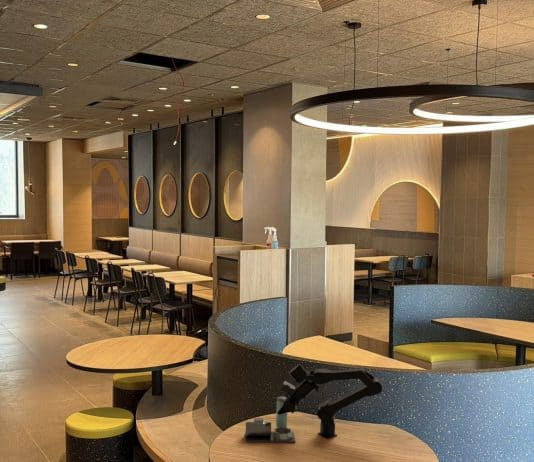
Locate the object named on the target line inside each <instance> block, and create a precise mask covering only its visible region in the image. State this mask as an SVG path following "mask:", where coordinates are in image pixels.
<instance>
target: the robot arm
mask: <svg viewBox="0 0 534 462" xmlns="http://www.w3.org/2000/svg"><path fill="white" fill-rule="evenodd" d="M288 374H289V376H290V377H291V378H292V379H293V380H294V381H295V382H296V384H297V383H298V384H299V383H300V385H296V386H295V385H293V384H291V383H290V382H288V381H286V380H284V381H283V383H282V385H281V387H280V390H281V391H282V392H285V393H286V395H285V397H287V398H286V399H285V400H284V402H283V403H284V405H283V406H282V407H281V409H280V410H279V411H278V412H277V413H278V414H283V413H287V414H288V413H291V414H294V413H295V412H296V411H297V406H298V405H299V404H300V403H301V402H302V401H303V400H305V399H306V398H307V396H309V395H310V394H311V393H312V392H313V391H314V390H315V391H316V392H317V393H319V391H320V385H324V384H327V383H330V382H333V381H343V380H344V381H345V380H358V379H359V380H360V381H361V382H362V384H363V385H362V386H361V387H359V388H358V389H356V390H354V391H351V392H350V393H348V394H346V395H343V396H341V397H340V398H338V399H336V400H334V401H333V400H332V401H331V400H330V399H327V400H326V399H325V401H322V402H320V405H318V409H317V412H316V415H317V418H318V419H320V425H319V426H320V428H319V432H317V435H318V436H321V437H322V438H324V439H328V440H329V439H332V438H335V437H338V434H336V422H335V419H336V413H337V412H339V411H340V410H342V409H344V408H346V407H348V406H351V405H352V404H354V403H356V402H358V401H360V400H362V399H364V398H367V397H368V398H369V397H373V396H376V395H379V394H381V393H382V391H383V383H382V380H381V379H380V378H379V377H375V376H374V375H372V374H370V373H369V372H368V371H366V370H365V369H364V368H362V367H359V368H350V369H339V370H337V369H336V370H331V369H327V368H317V369H315V370H306V369H305V367H303V364H301V363H299V364H298V365H296V366H294V367H293V368H292V369H291V370H290V371H289V372H288Z"/></svg>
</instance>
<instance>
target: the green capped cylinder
mask: <svg viewBox="0 0 534 462" xmlns="http://www.w3.org/2000/svg"><path fill="white" fill-rule="evenodd" d="M286 398H287V397H286V396H277V397H276V412H275V413H276V416H275V417H276V419H275V428H277V427H287V428H288V412H287V413H283V414H278V413H277V412H278V411H279V410H280V409H281V407H282V406H283V405H284V403H283V402H284V400H285V399H286Z"/></svg>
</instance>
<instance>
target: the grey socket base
mask: <svg viewBox="0 0 534 462" xmlns="http://www.w3.org/2000/svg"><path fill="white" fill-rule="evenodd" d="M244 435H245V443H246V444H247V443H251V444H252V443H257V444H259V443H260V444H261V443H262V444H264V443H265V444H267V443H268V444H275V443H276V444H278V443H279V444H296V440H295V439H296V437H295V434H294V432H293V429H292V428H289V427H288V426H287V427H275V428H273V431H272V422H271V421H264V417H253V421H246V422H245V434H244Z"/></svg>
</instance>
